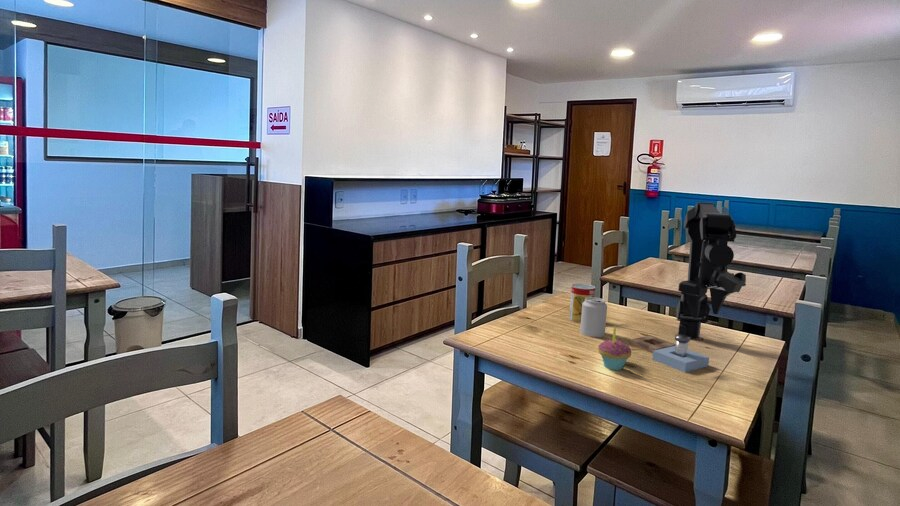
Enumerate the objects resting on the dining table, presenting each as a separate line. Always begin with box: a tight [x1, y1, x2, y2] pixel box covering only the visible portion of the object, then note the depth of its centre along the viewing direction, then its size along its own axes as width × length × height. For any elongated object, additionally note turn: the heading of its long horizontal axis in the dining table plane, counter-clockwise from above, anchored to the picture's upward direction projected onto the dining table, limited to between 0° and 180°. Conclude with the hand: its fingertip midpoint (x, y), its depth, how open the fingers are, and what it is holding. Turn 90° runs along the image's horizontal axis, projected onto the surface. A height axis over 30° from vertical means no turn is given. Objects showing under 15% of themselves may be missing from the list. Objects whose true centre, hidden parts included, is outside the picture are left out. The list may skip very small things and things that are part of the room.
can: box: [579, 296, 608, 338], centre depth 166 cm, size 8×8×12 cm
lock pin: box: [674, 334, 691, 358], centre depth 143 cm, size 4×4×8 cm
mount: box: [629, 334, 676, 354], centre depth 156 cm, size 9×9×2 cm
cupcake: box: [597, 324, 632, 371], centre depth 141 cm, size 9×8×12 cm
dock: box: [652, 346, 710, 373], centre depth 144 cm, size 10×10×4 cm
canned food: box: [568, 283, 596, 324], centre depth 184 cm, size 8×8×12 cm
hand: (705, 315), depth 147 cm, fingers open, 9 cm apart
